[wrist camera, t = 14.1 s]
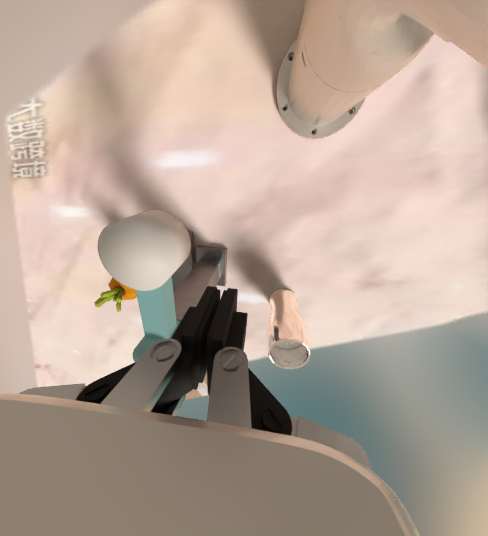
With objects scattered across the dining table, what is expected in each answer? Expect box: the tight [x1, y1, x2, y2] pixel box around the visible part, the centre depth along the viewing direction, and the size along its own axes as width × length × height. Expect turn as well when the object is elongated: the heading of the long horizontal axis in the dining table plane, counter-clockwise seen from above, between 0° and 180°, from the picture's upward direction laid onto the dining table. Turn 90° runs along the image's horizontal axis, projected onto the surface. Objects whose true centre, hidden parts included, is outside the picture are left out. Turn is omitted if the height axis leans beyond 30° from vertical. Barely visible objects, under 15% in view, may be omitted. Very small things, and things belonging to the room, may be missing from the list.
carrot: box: [95, 278, 137, 312], centre depth 36 cm, size 5×5×15 cm
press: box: [172, 231, 227, 322], centre depth 35 cm, size 14×19×20 cm
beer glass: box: [267, 289, 310, 369], centre depth 39 cm, size 7×7×15 cm
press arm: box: [98, 210, 191, 362], centre depth 20 cm, size 18×6×7 cm, turn 176°
